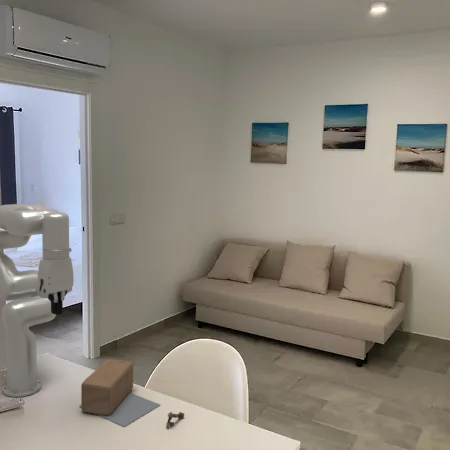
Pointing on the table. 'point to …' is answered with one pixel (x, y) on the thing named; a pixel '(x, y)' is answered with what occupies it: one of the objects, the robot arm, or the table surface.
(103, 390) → the wooden block
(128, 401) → the mat
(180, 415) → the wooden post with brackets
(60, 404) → the table surface
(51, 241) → the robot arm
